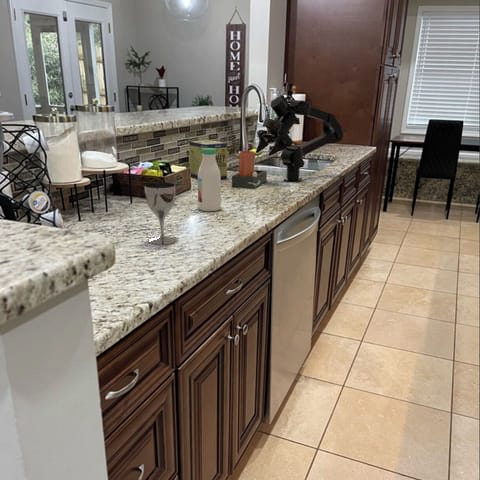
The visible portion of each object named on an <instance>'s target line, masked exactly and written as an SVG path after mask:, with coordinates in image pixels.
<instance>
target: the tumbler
mask: <svg viewBox="0 0 480 480" xmlns="http://www.w3.org/2000/svg"><path fill="white" fill-rule="evenodd" d="M255 157H256V151H253V150H240V151H238V173H239V176H246V177H252V175H253V173H254V170H255V164H256V163H255V160H256V158H255Z"/></svg>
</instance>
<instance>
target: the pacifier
mask: <svg viewBox="0 0 480 480" xmlns="http://www.w3.org/2000/svg"><path fill="white" fill-rule="evenodd" d="M252 177H257V173H256V172H254V173H253V175H252ZM248 183H249V184H254V185H255V188H257V187H256V185H259V184H260V181H259V180H258V183H257V184H255V183H251V182H248ZM259 186H260V185H259Z"/></svg>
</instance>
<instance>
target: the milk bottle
mask: <svg viewBox="0 0 480 480" xmlns="http://www.w3.org/2000/svg"><path fill="white" fill-rule="evenodd" d="M202 156H203V159H202V163H201V166H200V168H199V171H198V178H197V205H198V207H197V208H198V210H200V211H204V212H216V211H220V210H221V208H222V180H221V176H220V170H219V168H218V165H217V163H216V159H215V156H216V149H214V148H203V149H202Z"/></svg>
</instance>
